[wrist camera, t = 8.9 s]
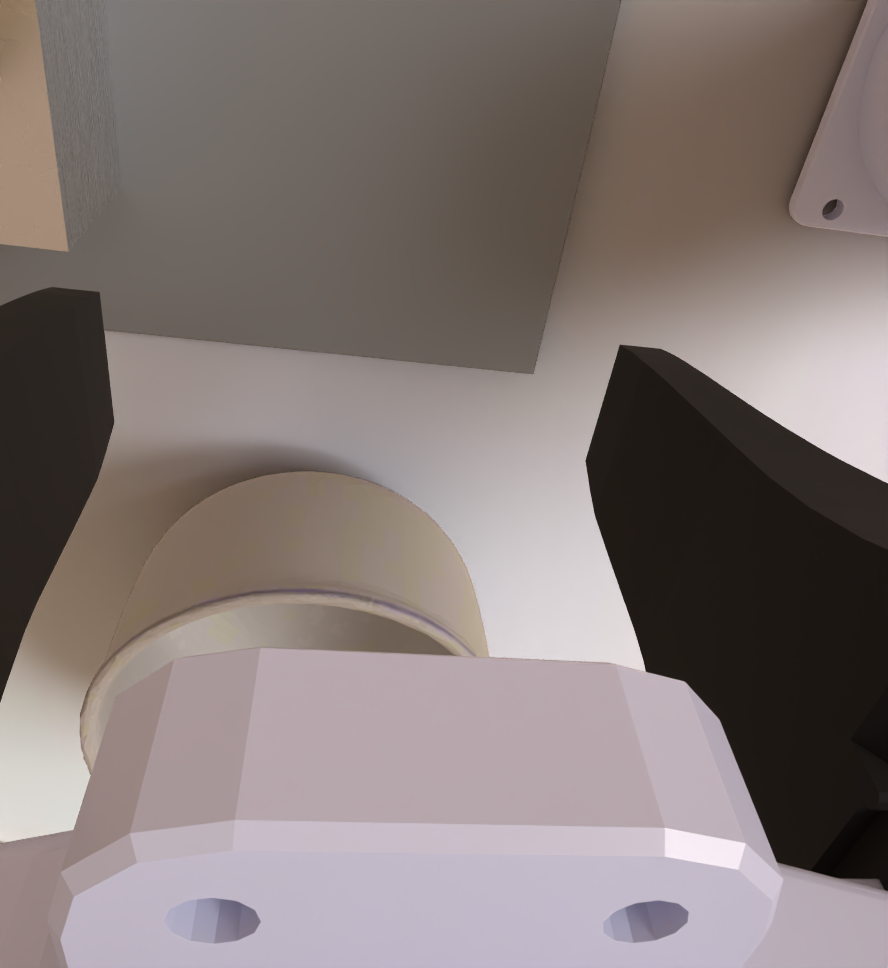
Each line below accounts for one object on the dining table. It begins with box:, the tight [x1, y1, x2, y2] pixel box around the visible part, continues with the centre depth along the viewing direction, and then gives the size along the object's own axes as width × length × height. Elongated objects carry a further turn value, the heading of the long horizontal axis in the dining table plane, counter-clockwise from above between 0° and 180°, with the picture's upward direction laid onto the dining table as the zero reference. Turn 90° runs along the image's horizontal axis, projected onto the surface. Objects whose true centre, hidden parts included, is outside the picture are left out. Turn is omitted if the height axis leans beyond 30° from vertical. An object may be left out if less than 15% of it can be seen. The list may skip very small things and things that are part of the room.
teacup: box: [80, 471, 489, 774], centre depth 25 cm, size 14×11×8 cm
